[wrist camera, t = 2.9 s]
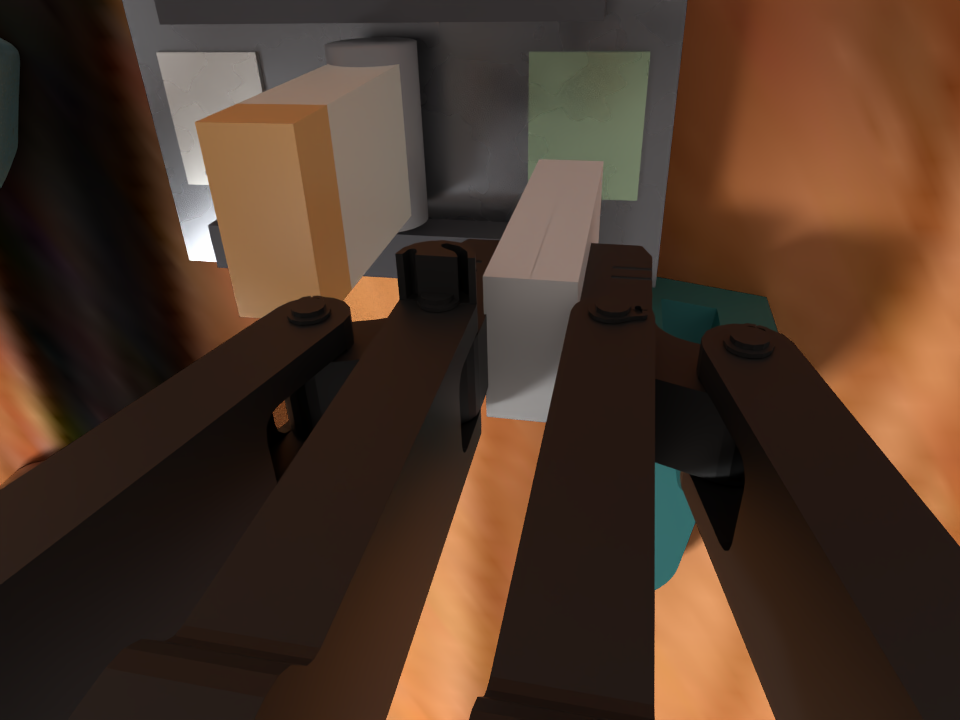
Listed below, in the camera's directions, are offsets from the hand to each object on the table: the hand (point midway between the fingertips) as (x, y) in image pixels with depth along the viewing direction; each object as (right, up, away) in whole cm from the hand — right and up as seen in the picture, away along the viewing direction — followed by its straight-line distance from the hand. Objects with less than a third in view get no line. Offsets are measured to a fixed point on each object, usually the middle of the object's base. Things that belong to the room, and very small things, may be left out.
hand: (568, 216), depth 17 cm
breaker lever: (-5, +5, +9) cm, 12 cm away
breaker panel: (-5, +7, +12) cm, 14 cm away
